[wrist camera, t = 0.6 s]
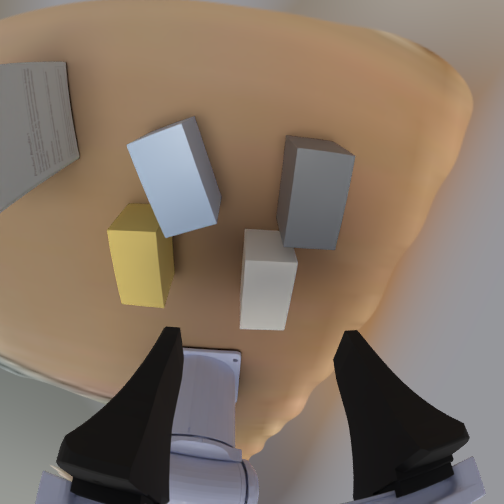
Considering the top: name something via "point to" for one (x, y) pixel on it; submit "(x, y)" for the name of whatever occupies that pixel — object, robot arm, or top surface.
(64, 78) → the supplement box
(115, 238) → the mustard brick
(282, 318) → the light grey brick
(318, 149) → the charcoal brick
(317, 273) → the top surface
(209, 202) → the blue brick
